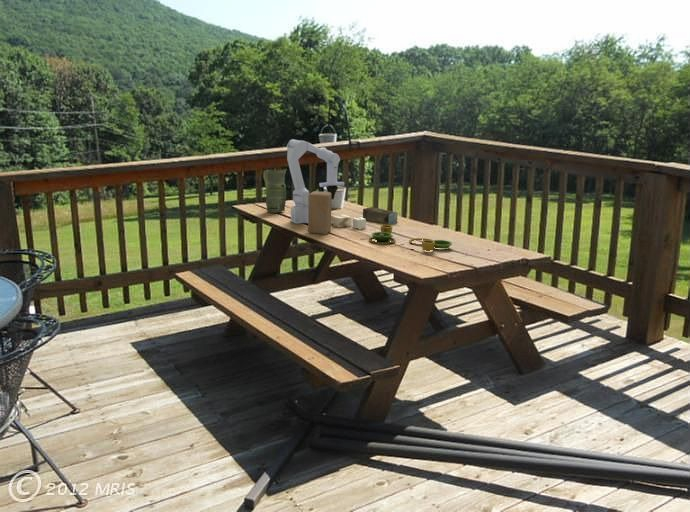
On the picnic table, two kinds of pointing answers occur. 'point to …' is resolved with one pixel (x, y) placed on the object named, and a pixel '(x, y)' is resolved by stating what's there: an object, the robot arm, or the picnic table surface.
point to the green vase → (275, 190)
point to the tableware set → (427, 244)
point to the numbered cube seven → (359, 222)
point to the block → (319, 212)
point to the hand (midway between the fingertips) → (331, 199)
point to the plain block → (341, 220)
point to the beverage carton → (380, 215)
